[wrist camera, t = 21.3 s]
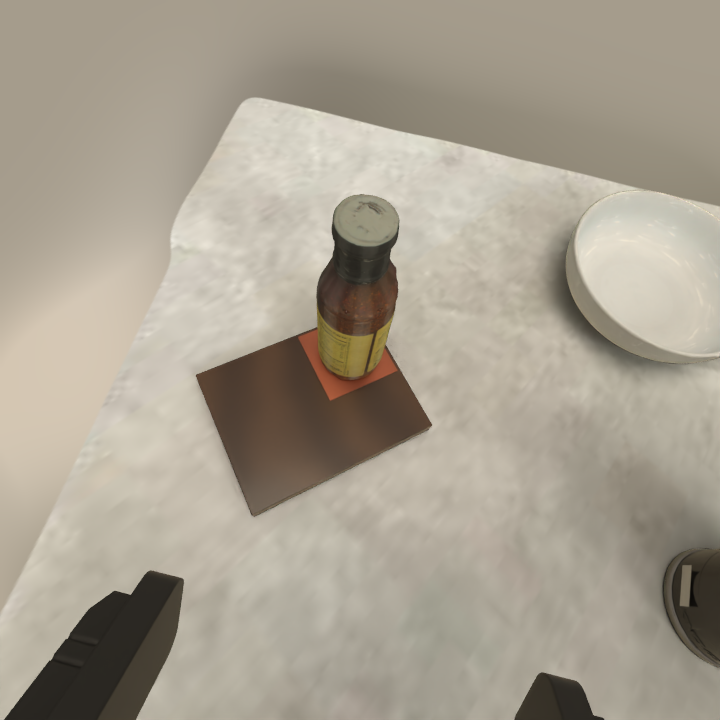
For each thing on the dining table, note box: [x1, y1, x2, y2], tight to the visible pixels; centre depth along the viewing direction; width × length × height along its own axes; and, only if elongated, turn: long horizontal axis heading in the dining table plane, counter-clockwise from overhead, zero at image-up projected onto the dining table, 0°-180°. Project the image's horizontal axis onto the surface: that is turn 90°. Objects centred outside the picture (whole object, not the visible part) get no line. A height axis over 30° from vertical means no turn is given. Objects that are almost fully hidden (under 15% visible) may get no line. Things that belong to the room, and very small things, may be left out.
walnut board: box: [196, 327, 432, 517], centre depth 43 cm, size 18×14×2 cm
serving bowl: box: [566, 190, 720, 364], centre depth 50 cm, size 21×21×7 cm
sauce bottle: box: [317, 194, 399, 380], centre depth 36 cm, size 7×6×20 cm
